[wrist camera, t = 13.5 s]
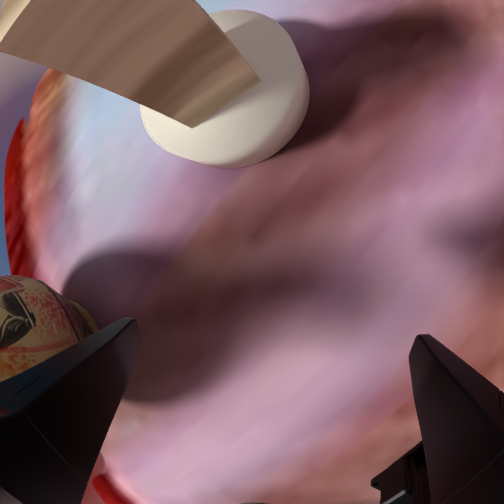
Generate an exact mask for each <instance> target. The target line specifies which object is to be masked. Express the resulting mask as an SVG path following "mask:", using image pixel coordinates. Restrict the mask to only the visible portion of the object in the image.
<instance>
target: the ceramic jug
mask: <svg viewBox="0 0 504 504" xmlns="http://www.w3.org/2000/svg"><path fill="white" fill-rule="evenodd" d="M98 331H99V329H98V326H97V324H96V323H95V321H94V319H93V318H92V316H91V315H90V313H89V312H88V311H87V310H86V309H85V308H83V307H82V306H81V305H80V304H79V303H77V302H75V301H72V300H69V299H67V298H65V297H63V296H62V295H60V294H59V293H57V292H56V291H55V290H53V289H52V288H51V287H49V286H48V285H47V284H45V283H44V282H43V281H40V280H36V279H32V278H28V277H24V276H18V275H12V276H1V277H0V382H1V381H4V380H6V379H8V378H10V377H13V376H15V375H17V374H19V373H21V372H23V371H25V370H27V369H29V368H31V367H33V366H35V365H37V364H39V363H40V362H43V361H44V360H46V359H48V358H50V357H51V356H53V355H55V354H57V353H59V352H61V351H62V350H64V349H66V348H68V347H70V346H72V345H74V344H75V343H77V342H79V341H81V340H83V339H85V338H86V337H88V336H90V335H92V334H94V333H96V332H98Z"/></svg>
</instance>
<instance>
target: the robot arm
mask: <svg viewBox="0 0 504 504" xmlns="http://www.w3.org/2000/svg"><path fill="white" fill-rule="evenodd" d="M140 345H141V336H140V332H139V328H138V325H137V321H136V320H135V319H133V318H127V317H124V318H122V319H120V320H118V321H116V322H114V323H112V324H110V325H109V326H107V327H105V328H103V329H101V330H99V331H98V332H96V333H94V334H92V335H90V336H88V337H86V338H85V339H83V340H81V341H79V342H77V343H75V344H74V345H72V346H70V347H68V348H66V349H64V350H62V351H61V352H59V353H57V354H55V355H53V356H51V357H50V358H48V359H46V360H44V361H43V362H40V363H39V364H37V365H35V366H33V367H31V368H29V369H27V370H25V371H23V372H21V373H19V374H17V375H15V376H13V377H10V378H8V379H6V380H4V381H1V382H0V504H81V501H82V498H83V495H84V493H85V490H86V487H87V482H88V481H89V478H90V476H91V473H92V470H93V468H94V465H95V462H96V460H97V457H98V455H99V452H100V450H101V447H102V445H103V442H104V440H105V437H106V435H107V432H108V430H109V427H110V425H111V422H112V420H113V418H114V415H115V413H116V411H117V408H118V406H119V404H120V401H121V399H122V397H123V394H124V392H125V390H126V387H127V385H128V382H129V380H130V377H131V374H132V370H133V367H134V364H135V361H136V358H137V355H138V352H139V349H140ZM409 365H410V372H411V380H412V388H413V396H414V402H415V407H416V411H417V416H418V420H419V425H420V430H421V435H422V441H421V442H420V443H419V444H417V445H416V446H415V447H414V448H413V449H411V450H410V451H409V452H408V453H407V454H405V455H404V456H403V457H401V458H400V459H399V460H398V461H396V462H395V463H394V464H392V465H391V466H390V467H388V468H387V469H386V470H384V471H383V472H382V473H380V474H379V475H378V476H376V477H375V478H373V479H372V480H371V486H372V487H374V488H376V489H378V490H380V491H381V500H380V504H504V393H503V392H502V391H499V389H498V388H497V387H496V386H495V385H493V384H492V383H491V382H490V381H488V380H487V379H486V378H485V377H483V376H482V375H481V374H480V373H478V372H477V371H476V370H475V369H473V368H472V367H471V366H470V365H468V364H467V363H466V362H465V361H463V360H462V359H461V358H459V357H458V356H457V355H456V354H454V353H453V352H452V351H450V350H449V349H448V348H446V347H445V346H444V345H443V344H441V343H440V342H439V341H437V340H436V339H435V338H433V337H432V336H431V335H429V334H419V335H417V336H416V338H415V340H414V343H413V346H412V348H411V351H410V354H409ZM422 446H424V447H422ZM375 482H377V483H375Z"/></svg>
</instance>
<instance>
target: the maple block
mask: <svg viewBox="0 0 504 504" xmlns="http://www.w3.org/2000/svg"><path fill="white" fill-rule="evenodd" d="M0 52H3V53H7V54H10V55H13V56H16V57H20V58H23V59H26V60H29V61H32V62H35V63H38V64H41V65H44V66H47V67H49V68H52V69H55V70H58V71H61V72H63V73H66V74H69V75H71V76H74V77H77V78H79V79H82V80H84V81H87V82H89V83H92V84H94V85H97V86H99V87H102V88H104V89H107V90H109V91H111V92H114V93H116V94H118V95H121V96H123V97H125V98H128V99H130V100H132V101H135V102H137V103H139V104H141V105H143V106H146V107H148V108H150V109H152V110H154V111H157V112H159V113H161V114H163V115H165V116H167V117H169V118H171V119H173V120H176V121H178V122H180V123H182V124H184V125H186V126H188V127H190V128H194V127H195V126H196V125H198V124H199V123H200V122H202V121H203V120H205V119H206V118H207V117H209V116H210V115H212V114H213V113H214V112H216V111H217V110H219V109H220V108H221V107H223V106H224V105H226V104H227V103H229V102H230V101H232V100H233V99H235V98H236V97H238V96H239V95H241V94H242V93H244V92H245V91H247V90H248V89H250V88H251V87H253V86H254V85H256V84H258V83H259V82H261V80H260V79H259V77H258V76H257V75H256V73H255V72H254V71H253V69H252V68H251V66H250V65H249V64H248V62H247V61H246V60H245V59H244V57H243V56H242V55H241V53H240V52H239V51H238V49H237V48H236V47H235V46H234V44H233V43H232V42H231V40H230V39H229V38H228V37H227V35H226V34H225V33H224V32H223V31H222V29H221V28H220V27H219V26H218V25H217V24H216V23H215V21H214V20H213V19H212V18H211V17H210V16H209V15H208V14H207V13H206V11H205V10H204V9H203V8H202V7H201V6H200V5H199V4H198V3H197V2H196V1H195V0H5V1H4V5H3V9H2V14H1V19H0Z"/></svg>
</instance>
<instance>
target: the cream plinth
mask: <svg viewBox="0 0 504 504" xmlns="http://www.w3.org/2000/svg"><path fill="white" fill-rule="evenodd" d="M208 15H209V16H210V17H211V18H212V19H213V20H214V21H215V23H216V24H217V25H218V26H219V27H220V28H221V29H222V31H223V32H224V33H225V34H226V35H227V37H228V38H229V39H230V40H231V42H232V43H233V44H234V46H235V47H236V48H237V49H238V51H239V52H240V53H241V55H242V56H243V57H244V59H245V60H246V61H247V62H248V64H249V65H250V66H251V68H252V69H253V71H254V72H255V73H256V75H257V76H258V77H259V79H260V80H261V82H259V83H258V84H256V85H254V86H253V87H251V88H250V89H248V90H247V91H245V92H244V93H242V94H241V95H239V96H238V97H236V98H235V99H233V100H232V101H230V102H229V103H227V104H226V105H224V106H223V107H221V108H220V109H219V110H217V111H216V112H214V113H213V114H212V115H210V116H209V117H207V118H206V119H205V120H203V121H202V122H200V123H199V124H198V125H196V126H195V127H194V128H190V127H188V126H186V125H184V124H182V123H180V122H178V121H176V120H173V119H171V118H169V117H167V116H165V115H163V114H161V113H159V112H157V111H154V110H152V109H150V108H148V107H146V106H143V105H141V104H140V110H141V117H142V120H143V123H144V126H145V128H146V130H147V132H148V133H149V135H150V136H151V138H152V139H153V140H154V141H155V142H156V143H157V144H158V145H159V146H160V147H162V148H163V149H164V150H166V151H168V152H170V153H172V154H174V155H178V156H181V157H184V158H187V159H190V160H193V161H196V162H199V163H202V164H205V165H208V166H211V167H215V168H221V169H235V168H242V167H247V166H251V165H253V164H256V163H259V162H261V161H263V160H265V159H267V158H269V157H271V156H272V155H274V154H275V153H277V152H278V151H279V150H280V149H282V148H283V147H284V146H285V145H286V144H287V143H288V142H289V141H290V140H291V139H292V138H293V136H294V135H295V134H296V132H297V131H298V130H299V128H300V126H301V124H302V122H303V121H304V118H305V115H306V113H307V110H308V105H309V99H310V86H309V80H308V76H307V73H306V71H305V68H304V66H303V64H302V61H301V59H300V57H299V54H298V52H297V50H296V47H295V45H294V43H293V41H292V39H291V37H290V36H289V34H288V33H287V31H286V30H285V29H284V28H283V27H282V26H281V25H280V24H278V23H277V22H276V21H274V20H273V19H271V18H269V17H267V16H265V15H263V14H260V13H257V12H253V11H247V10H226V11H220V12H215V13H212V14H208Z"/></svg>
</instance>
